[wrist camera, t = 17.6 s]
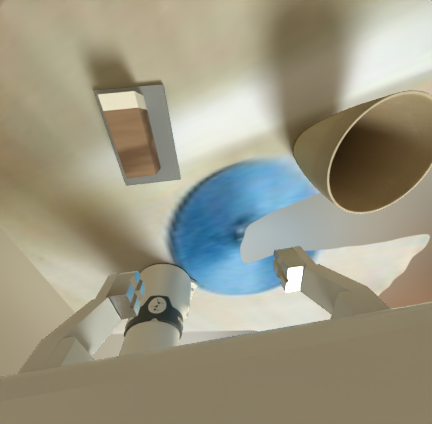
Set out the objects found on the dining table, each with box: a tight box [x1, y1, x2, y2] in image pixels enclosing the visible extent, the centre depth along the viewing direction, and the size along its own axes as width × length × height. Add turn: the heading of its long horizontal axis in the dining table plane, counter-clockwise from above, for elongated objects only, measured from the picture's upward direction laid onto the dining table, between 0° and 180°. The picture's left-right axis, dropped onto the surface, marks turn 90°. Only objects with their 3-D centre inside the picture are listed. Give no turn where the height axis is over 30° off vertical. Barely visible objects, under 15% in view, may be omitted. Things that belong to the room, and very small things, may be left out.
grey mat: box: [94, 84, 181, 186], centre depth 32 cm, size 16×11×1 cm
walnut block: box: [98, 91, 161, 178], centre depth 29 cm, size 5×5×12 cm
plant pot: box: [293, 91, 432, 214], centre depth 29 cm, size 15×15×16 cm
